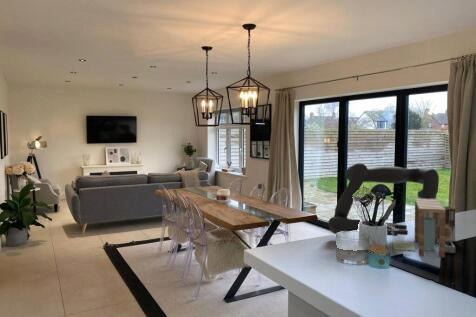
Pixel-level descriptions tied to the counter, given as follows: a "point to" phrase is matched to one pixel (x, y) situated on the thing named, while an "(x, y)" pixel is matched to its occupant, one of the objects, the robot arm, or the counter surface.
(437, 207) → the small wooden table
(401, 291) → the counter surface
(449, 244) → the pit box
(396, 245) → the mat
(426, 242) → the teal block
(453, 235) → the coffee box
